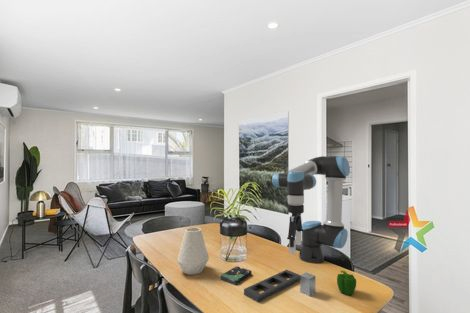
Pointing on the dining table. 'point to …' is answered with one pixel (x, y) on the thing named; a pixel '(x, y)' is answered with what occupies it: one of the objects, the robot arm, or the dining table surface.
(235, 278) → the disk drive
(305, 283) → the block
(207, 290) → the dining table surface
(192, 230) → the vase
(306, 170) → the robot arm
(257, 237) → the dining table surface
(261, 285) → the rail
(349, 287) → the bell pepper
